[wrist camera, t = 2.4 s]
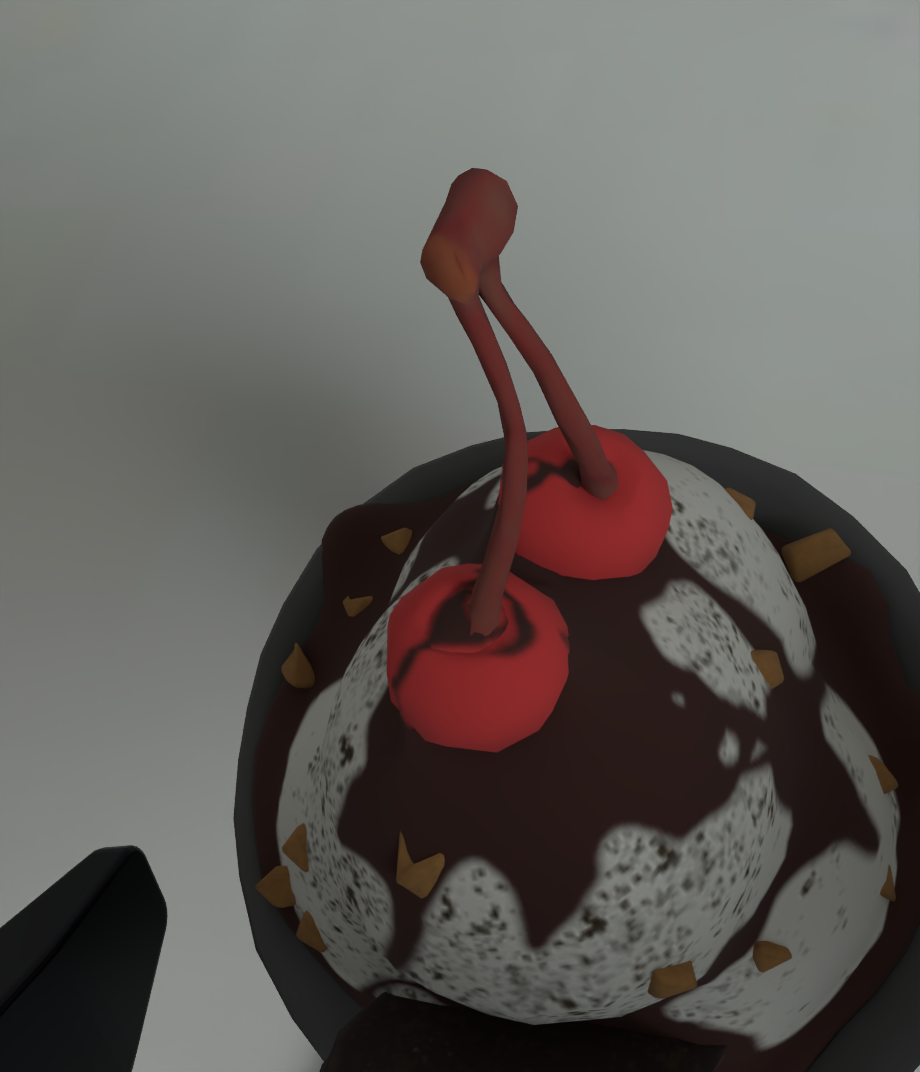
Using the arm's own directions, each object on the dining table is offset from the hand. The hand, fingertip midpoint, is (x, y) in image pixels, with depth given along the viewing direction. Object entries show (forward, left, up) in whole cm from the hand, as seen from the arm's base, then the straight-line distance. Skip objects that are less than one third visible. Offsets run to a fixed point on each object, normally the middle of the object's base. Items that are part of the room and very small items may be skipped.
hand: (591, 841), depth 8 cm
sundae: (+1, 0, -9) cm, 10 cm away
